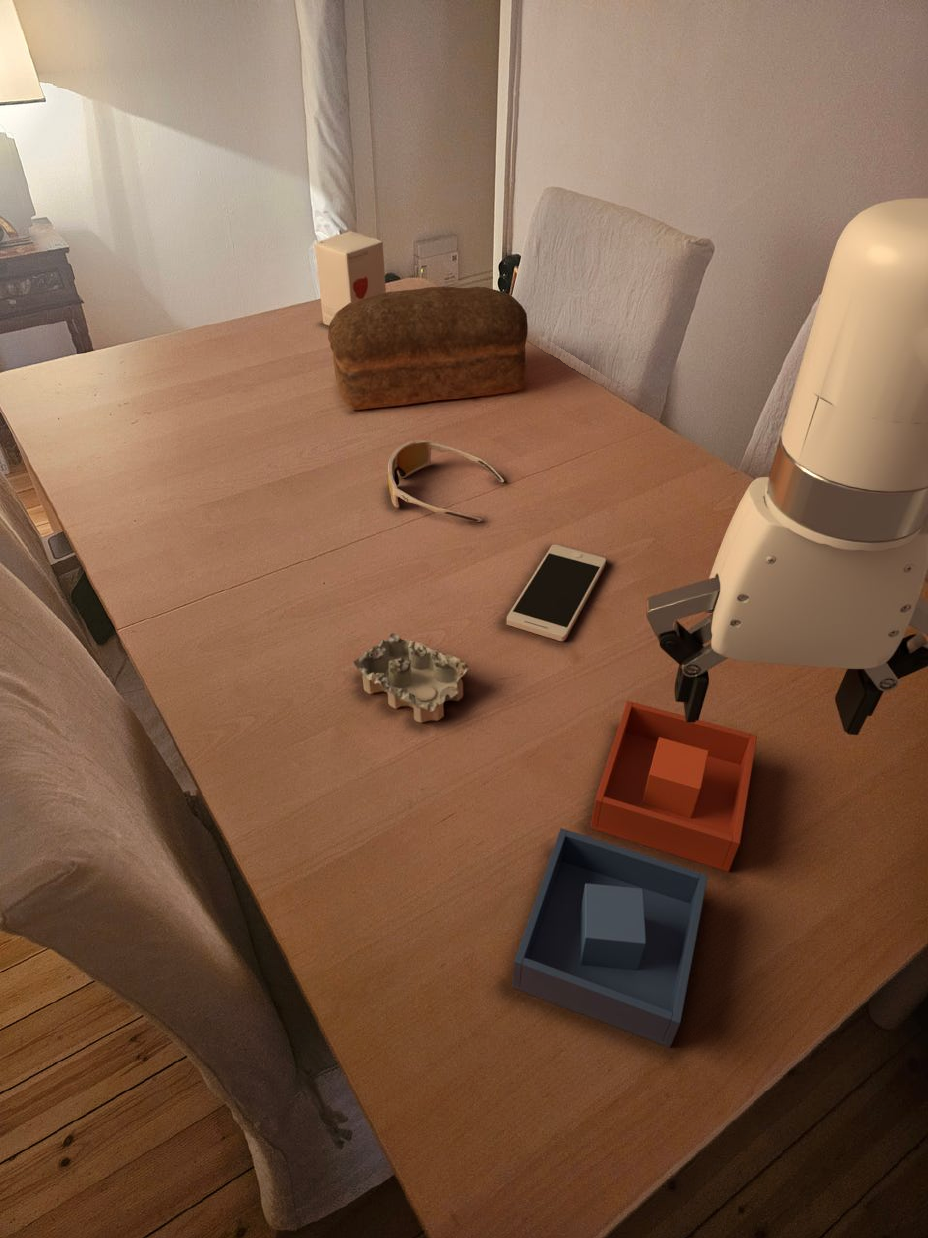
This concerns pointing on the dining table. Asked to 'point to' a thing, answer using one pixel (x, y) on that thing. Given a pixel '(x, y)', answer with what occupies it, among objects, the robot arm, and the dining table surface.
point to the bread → (428, 346)
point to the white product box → (348, 271)
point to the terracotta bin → (718, 802)
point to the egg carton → (412, 676)
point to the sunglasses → (416, 458)
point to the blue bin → (608, 993)
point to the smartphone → (556, 592)
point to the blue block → (612, 926)
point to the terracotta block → (675, 777)
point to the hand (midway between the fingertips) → (766, 711)
